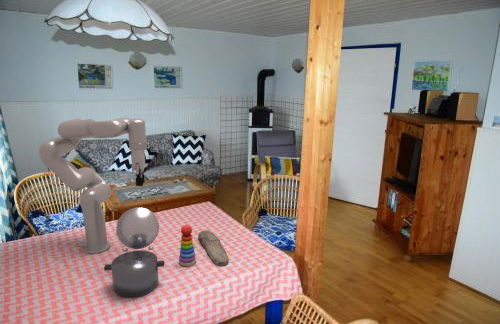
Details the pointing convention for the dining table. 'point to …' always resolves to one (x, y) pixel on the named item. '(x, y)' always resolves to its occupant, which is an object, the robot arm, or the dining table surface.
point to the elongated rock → (213, 247)
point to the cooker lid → (137, 228)
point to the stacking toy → (187, 247)
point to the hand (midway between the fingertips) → (140, 183)
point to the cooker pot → (134, 273)
